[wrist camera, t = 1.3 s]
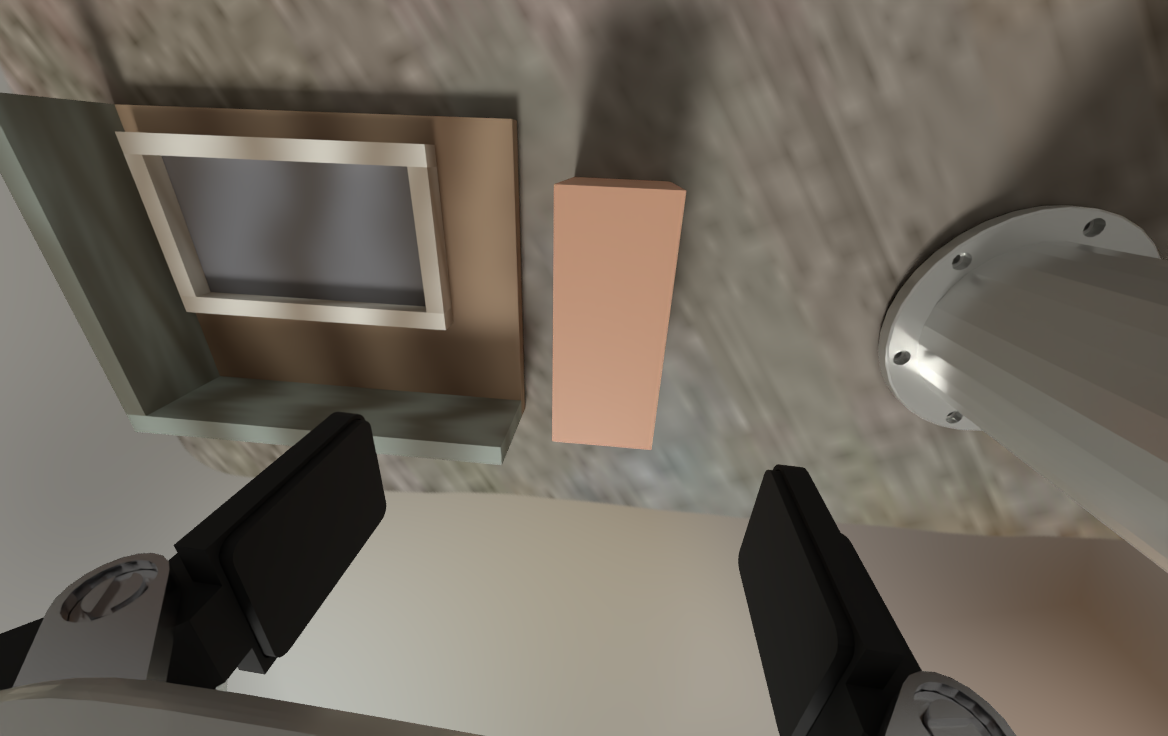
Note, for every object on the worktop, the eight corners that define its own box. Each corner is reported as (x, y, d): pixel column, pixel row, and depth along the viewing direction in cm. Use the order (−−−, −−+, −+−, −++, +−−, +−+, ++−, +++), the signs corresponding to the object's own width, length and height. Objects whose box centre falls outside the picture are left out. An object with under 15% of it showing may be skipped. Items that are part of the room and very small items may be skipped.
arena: (516, 120, 21) (479, 108, 16) (525, 408, 29) (501, 464, 24) (113, 105, 23) (-44, 90, 18) (221, 383, 30) (135, 431, 25)
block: (574, 176, 23) (554, 184, 16) (669, 181, 22) (686, 190, 16) (569, 377, 28) (552, 441, 22) (645, 383, 28) (651, 449, 21)
